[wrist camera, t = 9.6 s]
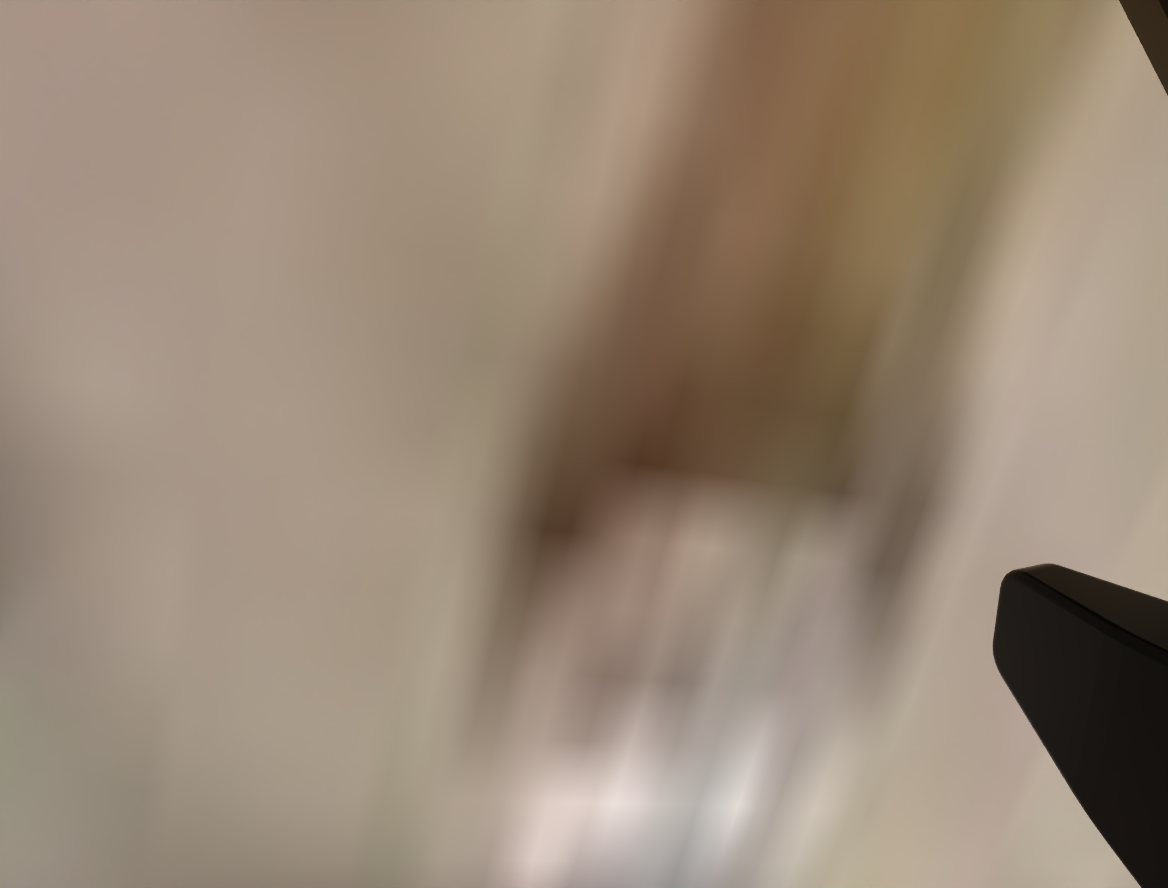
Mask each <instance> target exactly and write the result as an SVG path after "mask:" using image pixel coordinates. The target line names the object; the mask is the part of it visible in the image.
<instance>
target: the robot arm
mask: <svg viewBox="0 0 1168 888" xmlns="http://www.w3.org/2000/svg"><path fill="white" fill-rule="evenodd" d="M1119 1H1120V3H1121V5H1122V7H1123V9H1124V11H1125V13H1126V15H1127V17H1128V19H1129V21H1130V23H1131V24H1132V26H1133V28H1134V30H1135V32H1136V34H1137V36H1138V38H1139V40H1140V42H1141V44H1142V46H1143V48H1144V50H1145V52H1146V54H1147V56H1148V58H1149V60H1150V62H1151V64H1152V66H1153V68H1154V70H1155V71H1156V73H1157V75H1158V77H1159V79H1160V81H1161V83H1162V85H1163V87H1164V89H1165V91H1166V93H1167V95H1168V0H1119ZM993 655H994V659H995V663H996V666H997V668H998V670H999V672H1000V674H1001V676H1002V678H1003V679H1004V681H1005V683H1006V684H1007V686H1008V688H1009V689H1010V691H1011V692H1012V694H1013V696H1014V697H1015V699H1016V701H1017V702H1018V704H1019V705H1020V707H1021V709H1022V710H1023V712H1024V714H1025V715H1026V717H1027V719H1028V720H1029V722H1030V723H1031V725H1032V727H1033V728H1034V730H1035V732H1036V733H1037V735H1038V736H1039V738H1040V740H1041V741H1042V743H1043V745H1044V746H1045V748H1046V750H1047V751H1048V753H1049V754H1050V756H1051V758H1052V759H1053V761H1054V763H1055V764H1056V766H1057V767H1058V769H1059V771H1060V772H1061V774H1062V776H1063V777H1064V779H1065V780H1066V782H1067V784H1068V785H1069V787H1070V789H1071V790H1072V792H1073V793H1074V795H1075V797H1076V798H1077V800H1078V801H1079V803H1080V804H1081V806H1082V807H1083V809H1084V810H1085V812H1086V813H1087V815H1088V816H1089V818H1090V819H1091V821H1092V822H1093V823H1094V825H1095V826H1096V827H1097V829H1098V830H1099V832H1100V833H1101V834H1102V836H1103V837H1104V839H1105V840H1106V841H1107V843H1108V844H1109V845H1110V847H1111V848H1112V849H1113V851H1114V852H1115V853H1116V855H1117V856H1118V857H1119V859H1120V860H1121V861H1122V863H1123V864H1124V865H1125V867H1126V868H1127V869H1128V871H1129V872H1130V873H1131V875H1132V876H1133V877H1134V878H1135V880H1136V881H1137V882H1138V884H1139V885H1140V886H1141V888H1168V601H1165V600H1162V599H1159V598H1156V597H1153V596H1150V595H1147V594H1144V593H1141V592H1138V591H1135V590H1132V589H1129V588H1126V587H1123V586H1120V585H1117V584H1114V583H1111V582H1108V581H1105V580H1102V579H1099V578H1096V577H1093V576H1090V575H1087V574H1084V573H1081V572H1077V571H1074V570H1071V569H1068V568H1065V567H1062V566H1059V565H1056V564H1040V565H1035V566H1031V567H1026V568H1021V569H1016V570H1013V571H1011V572H1009V573H1008V574H1006V576H1005V577H1004V579H1003V581H1002V583H1001V587H1000V594H999V601H998V609H997V616H996V623H995V631H994V638H993Z"/></svg>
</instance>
